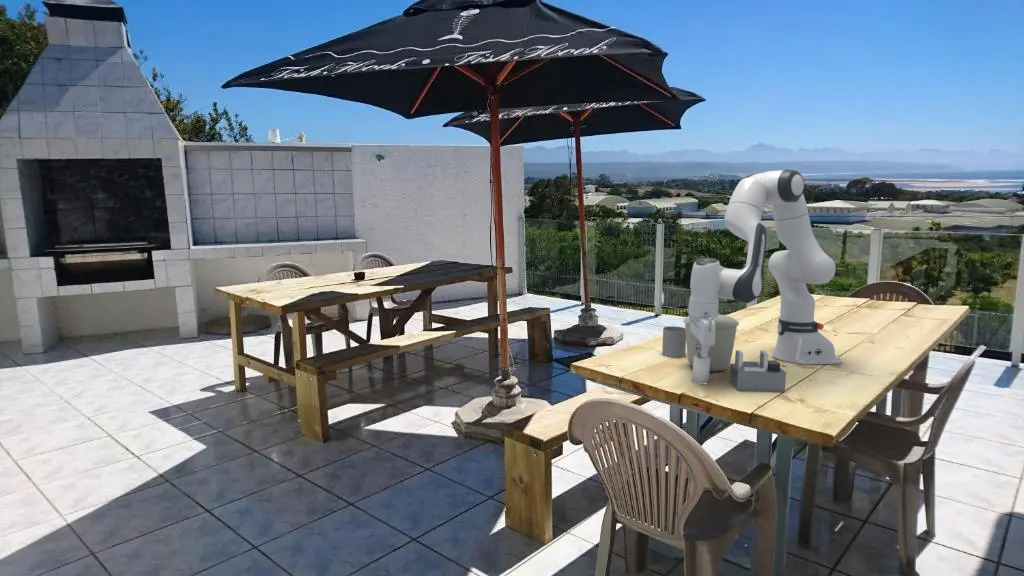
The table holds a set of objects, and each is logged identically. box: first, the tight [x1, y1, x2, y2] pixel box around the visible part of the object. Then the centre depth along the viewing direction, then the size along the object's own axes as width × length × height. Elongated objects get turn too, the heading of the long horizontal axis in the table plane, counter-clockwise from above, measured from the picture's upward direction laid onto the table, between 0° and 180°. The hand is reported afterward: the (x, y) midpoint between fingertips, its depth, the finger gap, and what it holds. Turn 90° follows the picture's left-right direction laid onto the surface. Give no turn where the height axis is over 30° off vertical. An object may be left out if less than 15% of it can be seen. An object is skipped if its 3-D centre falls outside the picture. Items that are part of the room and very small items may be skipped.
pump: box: [692, 353, 710, 384], centre depth 192 cm, size 5×5×9 cm
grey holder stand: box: [728, 349, 787, 393], centre depth 186 cm, size 14×9×11 cm, turn 85°
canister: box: [682, 313, 740, 373], centre depth 206 cm, size 18×18×21 cm
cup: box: [661, 325, 687, 359], centre depth 223 cm, size 8×8×10 cm
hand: (700, 353), depth 191 cm, fingers open, 8 cm apart
